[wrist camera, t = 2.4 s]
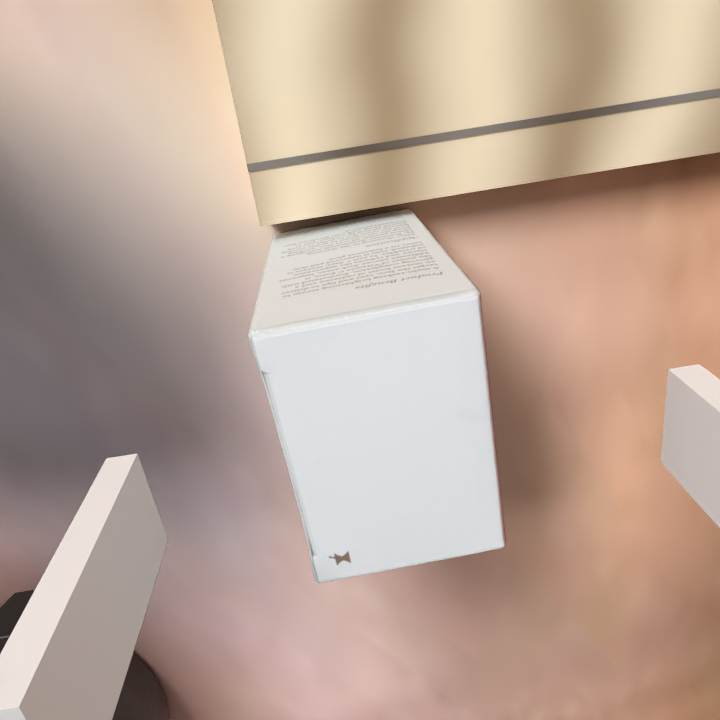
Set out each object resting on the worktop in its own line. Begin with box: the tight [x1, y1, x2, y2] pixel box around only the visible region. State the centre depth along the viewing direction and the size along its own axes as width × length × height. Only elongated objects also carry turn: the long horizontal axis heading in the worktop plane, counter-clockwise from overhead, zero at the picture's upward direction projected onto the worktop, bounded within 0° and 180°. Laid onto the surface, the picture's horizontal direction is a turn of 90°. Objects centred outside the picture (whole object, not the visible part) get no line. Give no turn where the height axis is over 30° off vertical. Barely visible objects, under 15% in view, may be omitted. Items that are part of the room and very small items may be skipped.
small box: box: [248, 209, 506, 583], centre depth 20 cm, size 8×6×10 cm
